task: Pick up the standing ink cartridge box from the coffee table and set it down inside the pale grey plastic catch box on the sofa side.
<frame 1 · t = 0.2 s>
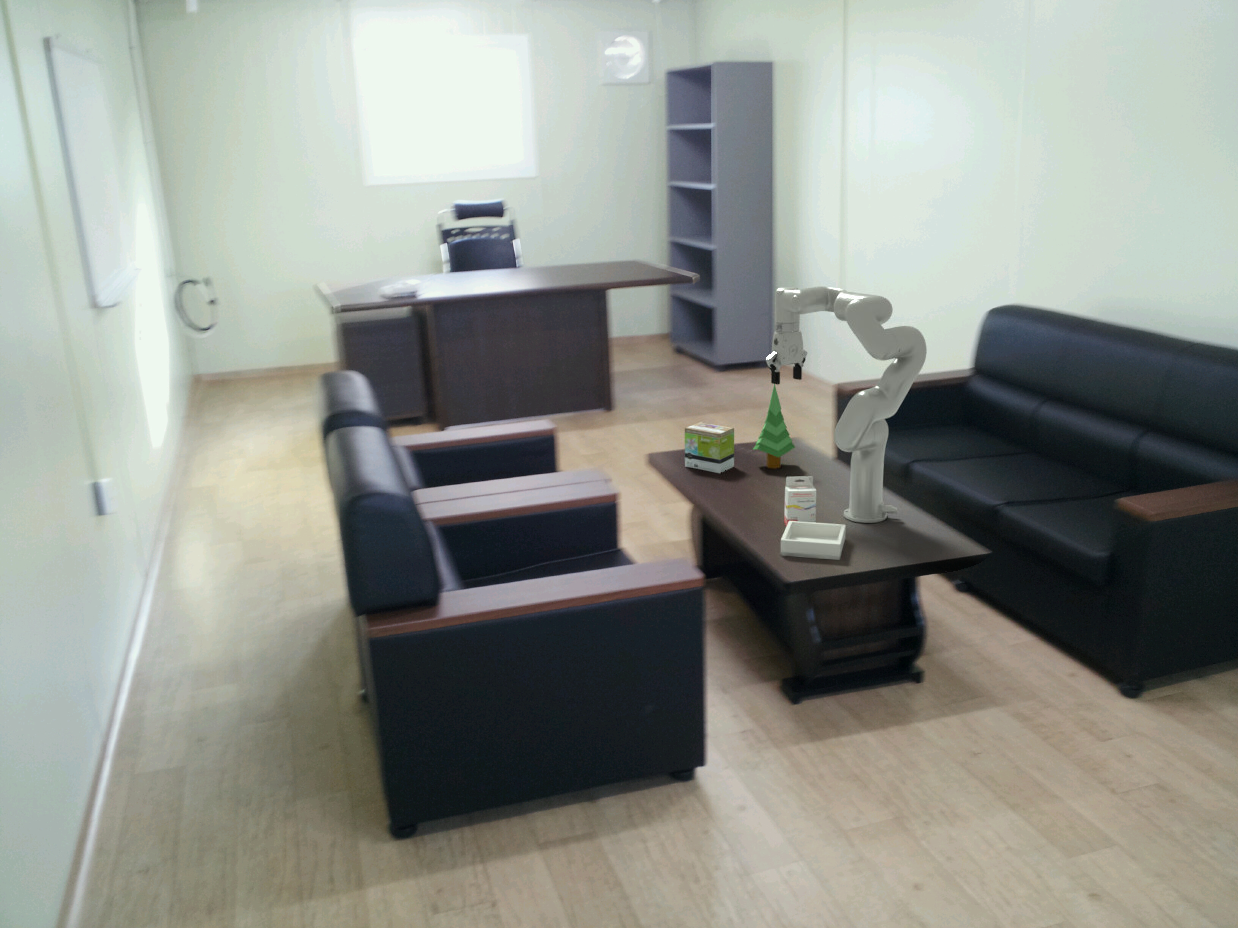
hand: (786, 381, 327), 37 cm above the table, tool pointing down, fingers open, 9 cm apart
tea box: (709, 467, 368), on the table
ink cartridge box: (799, 526, 307), on the table
decorative tree: (773, 467, 366), on the table
catch box: (813, 547, 290), on the table
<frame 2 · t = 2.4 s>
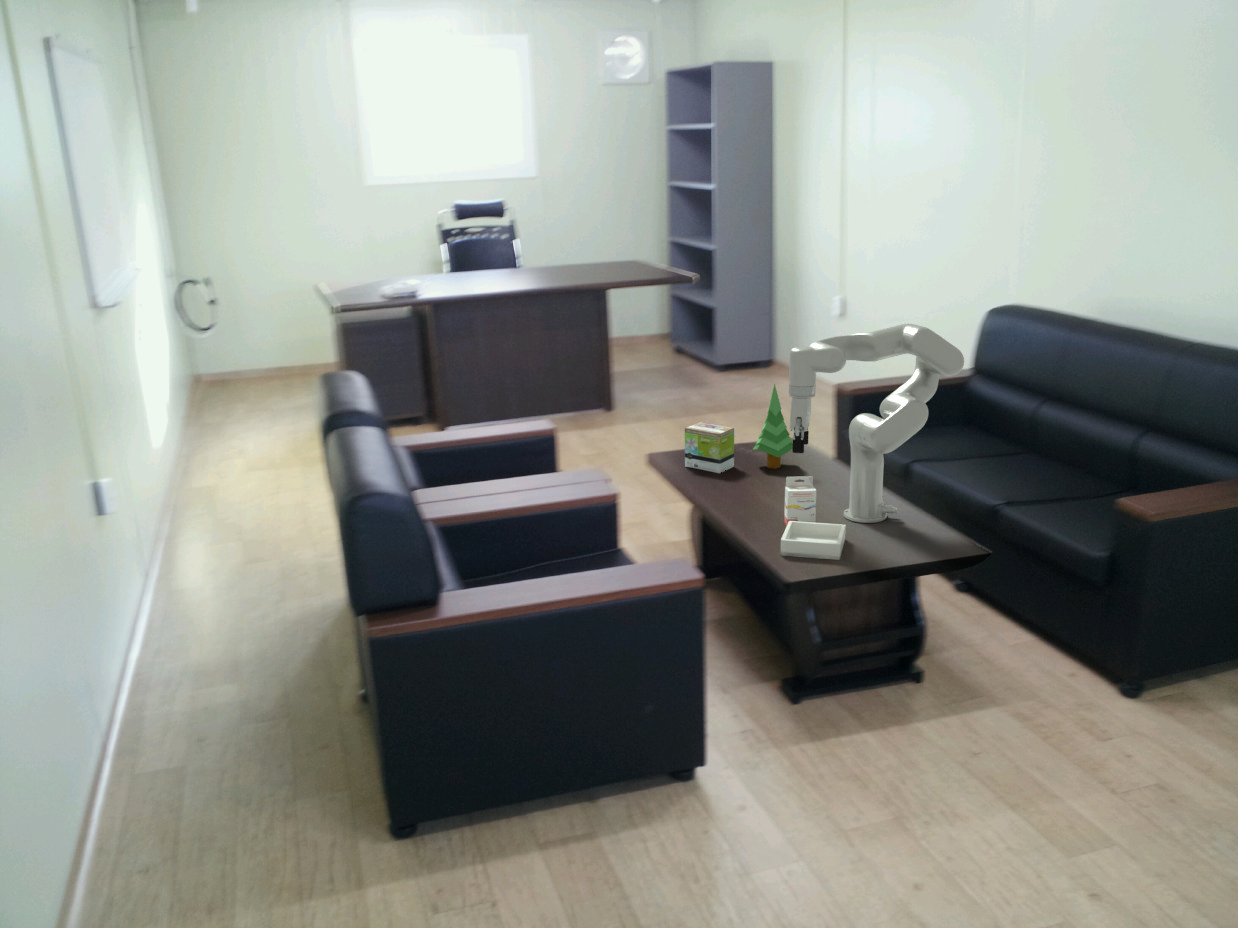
hand: (800, 448, 300), 24 cm above the table, tool pointing down, fingers open, 9 cm apart
nothing on the table moved.
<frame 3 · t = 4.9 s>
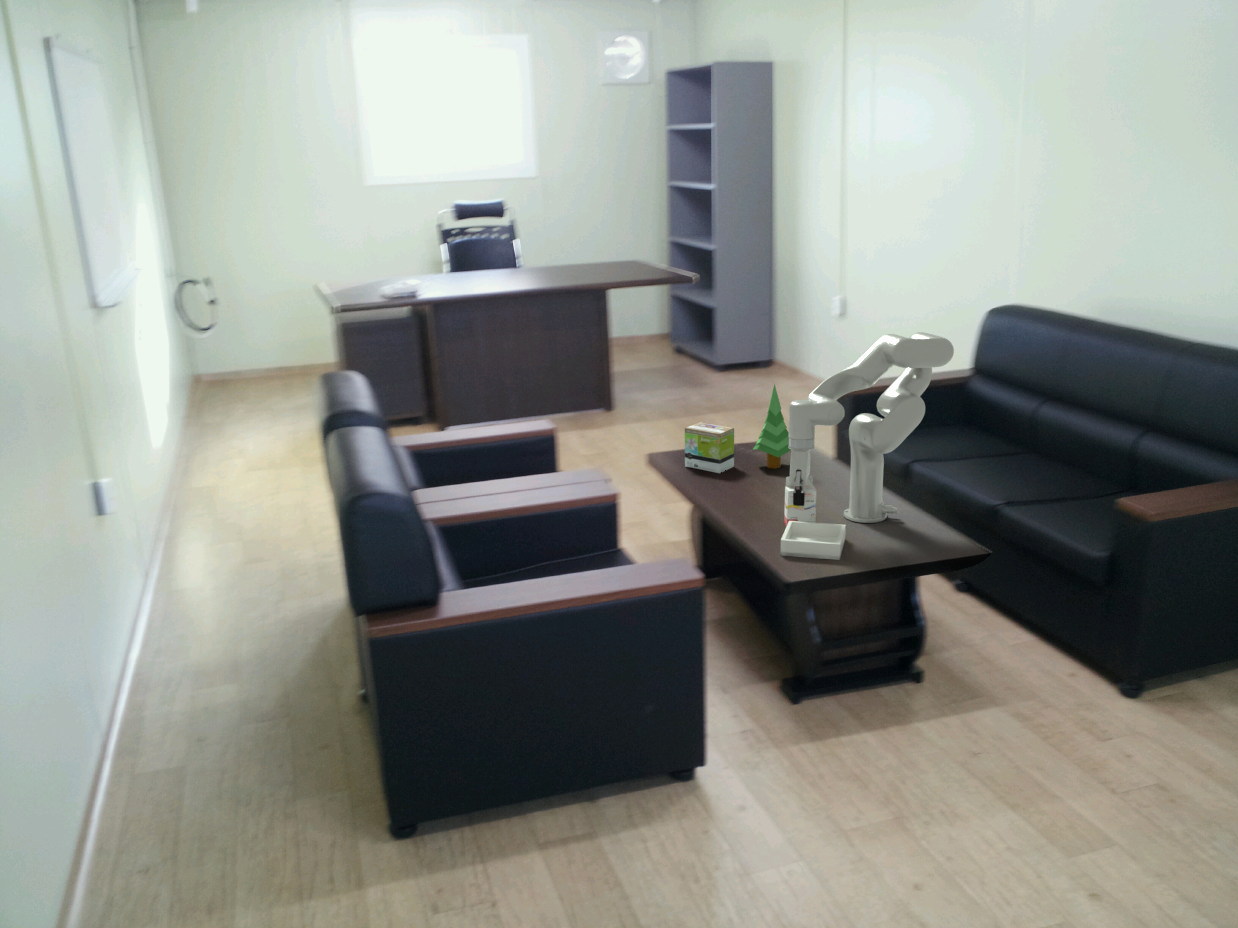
hand: (800, 501, 305), 8 cm above the table, tool pointing down, fingers closed on ink cartridge box, 6 cm apart
ink cartridge box: (799, 526, 307), on the table, touching gripper
everything else where it was.
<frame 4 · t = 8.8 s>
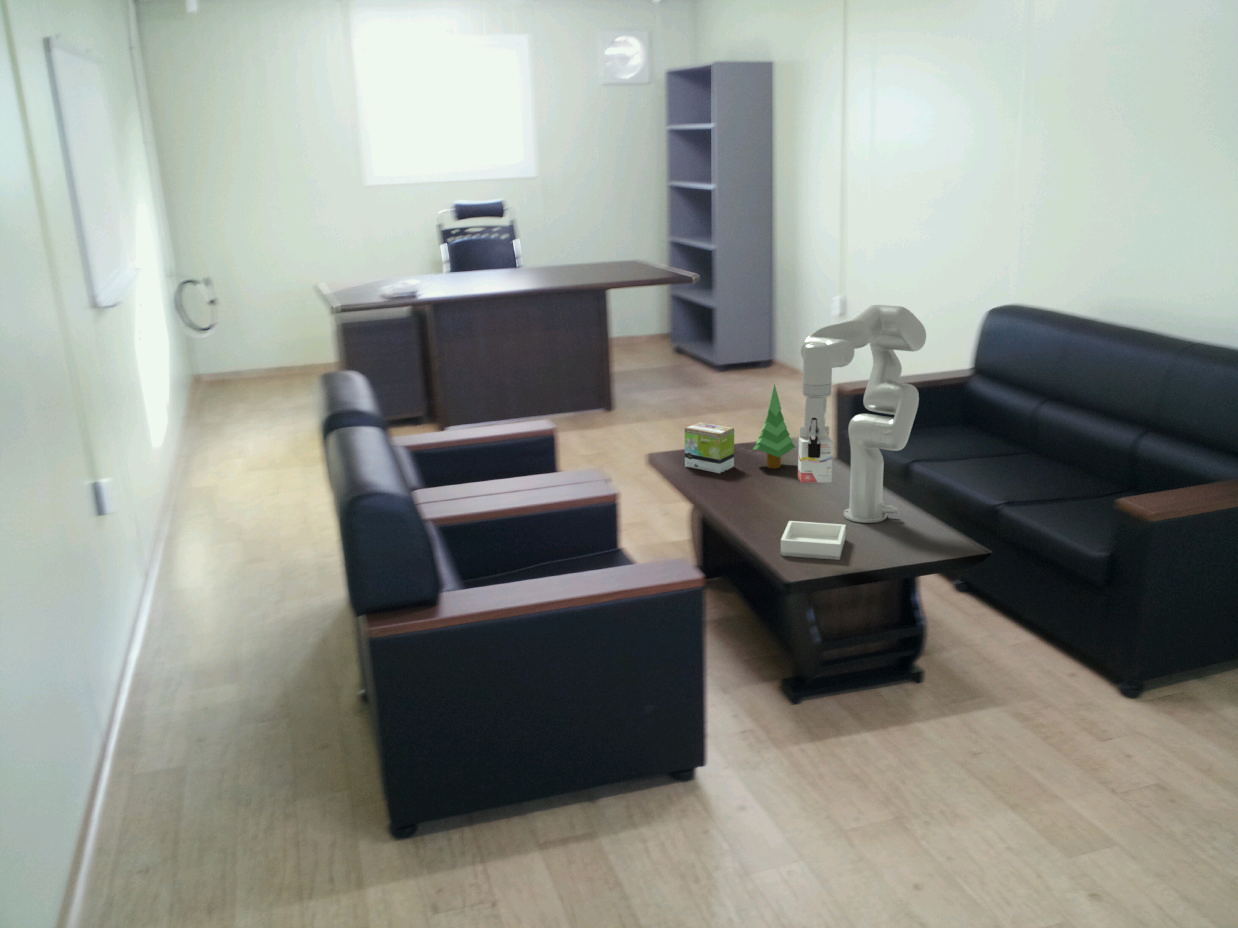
hand: (815, 453, 282), 27 cm above the table, tool pointing down, fingers closed on ink cartridge box, 6 cm apart
ink cartridge box: (814, 480, 285), point 19 cm above the table, touching gripper
everything else where it was.
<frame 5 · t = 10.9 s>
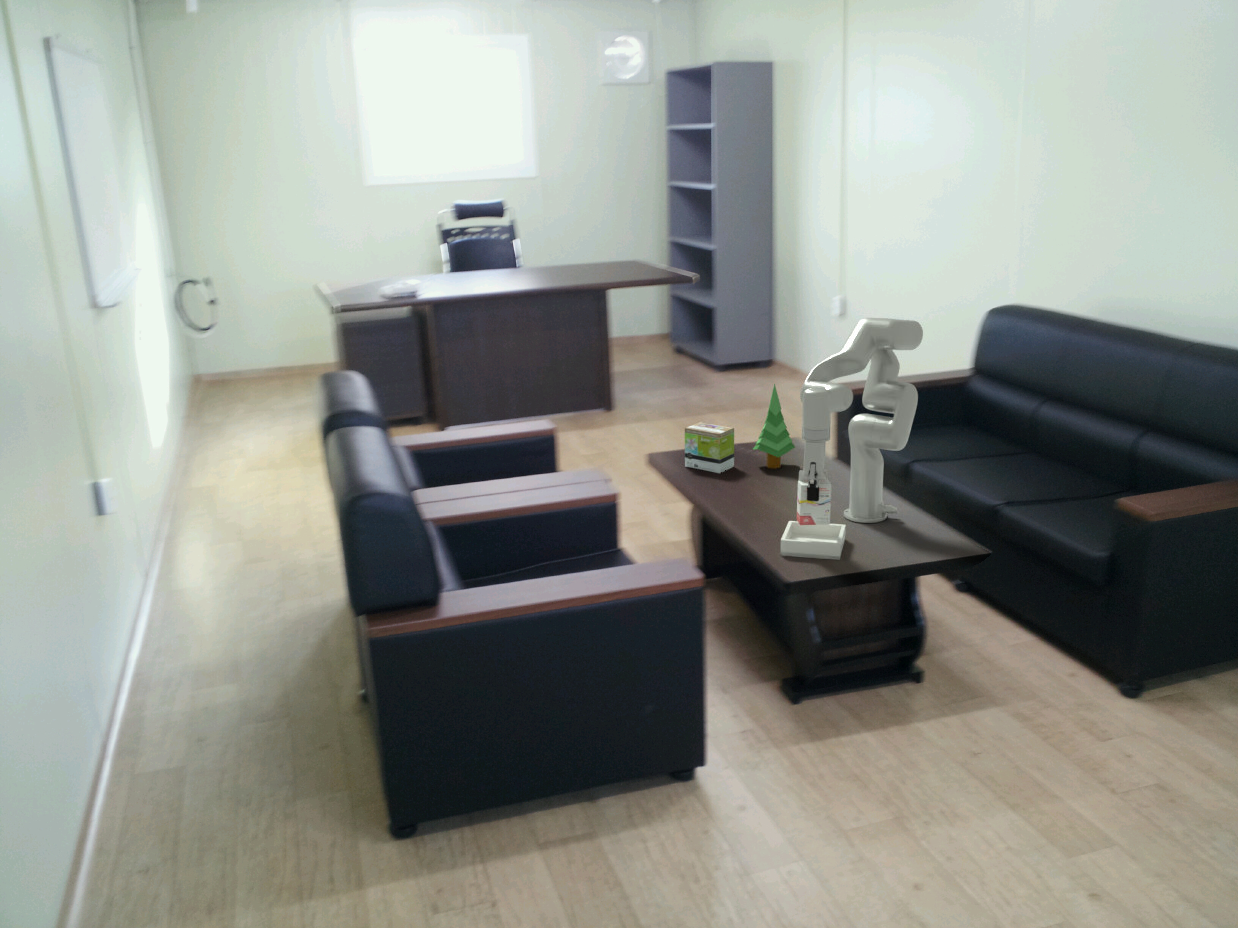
hand: (814, 496, 286), 15 cm above the table, tool pointing down, fingers closed on ink cartridge box, 6 cm apart
ink cartridge box: (813, 523, 288), point 7 cm above the table, touching gripper
everything else where it was.
when the fingers open (10 cm above the table, at t = 12.9 s): ink cartridge box drops 1 cm, resting on catch box.
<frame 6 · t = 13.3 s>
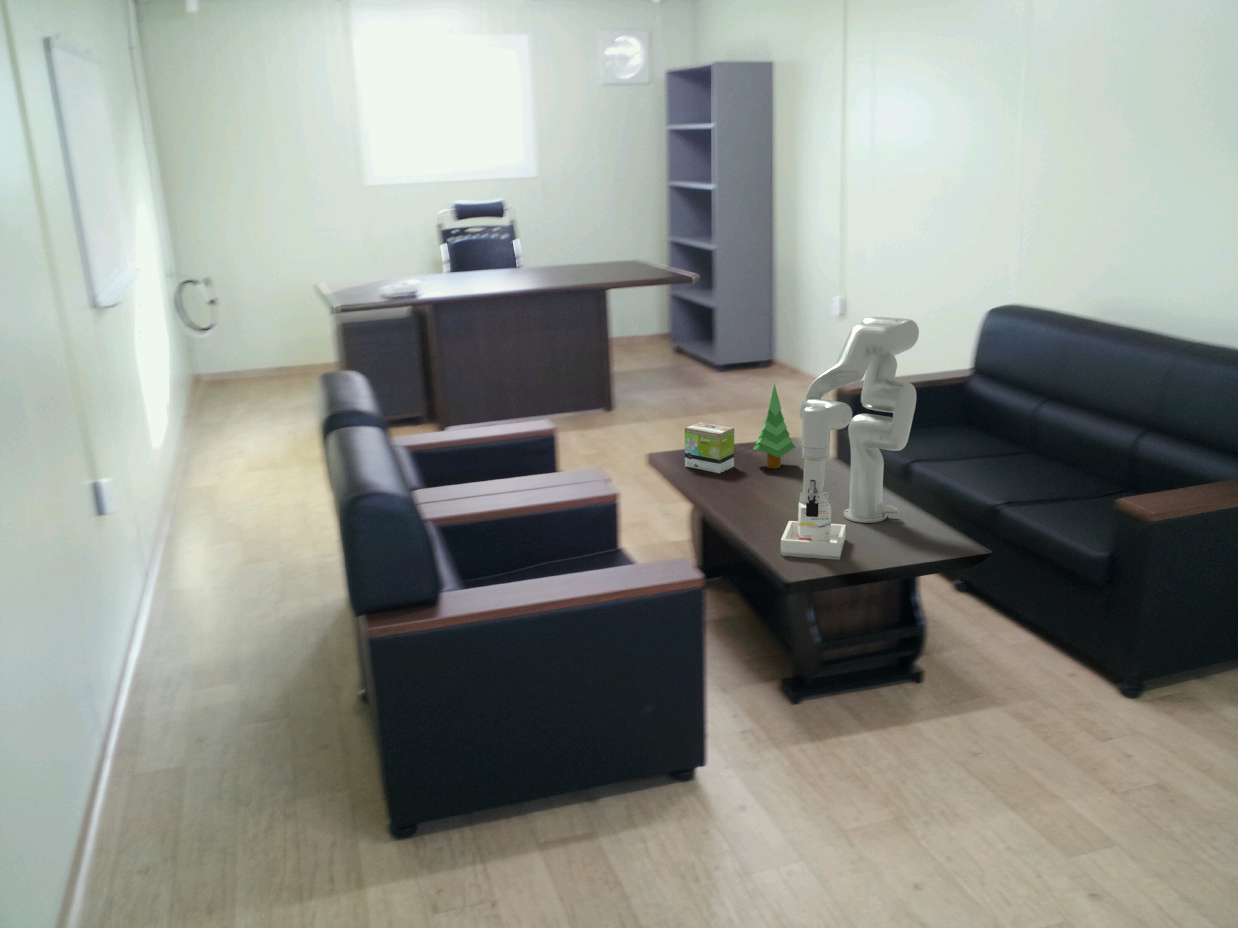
hand: (814, 510, 287), 11 cm above the table, tool pointing down, fingers open, 9 cm apart
ink cartridge box: (813, 544, 289), point 1 cm above the table, touching catch box
everything else where it was.
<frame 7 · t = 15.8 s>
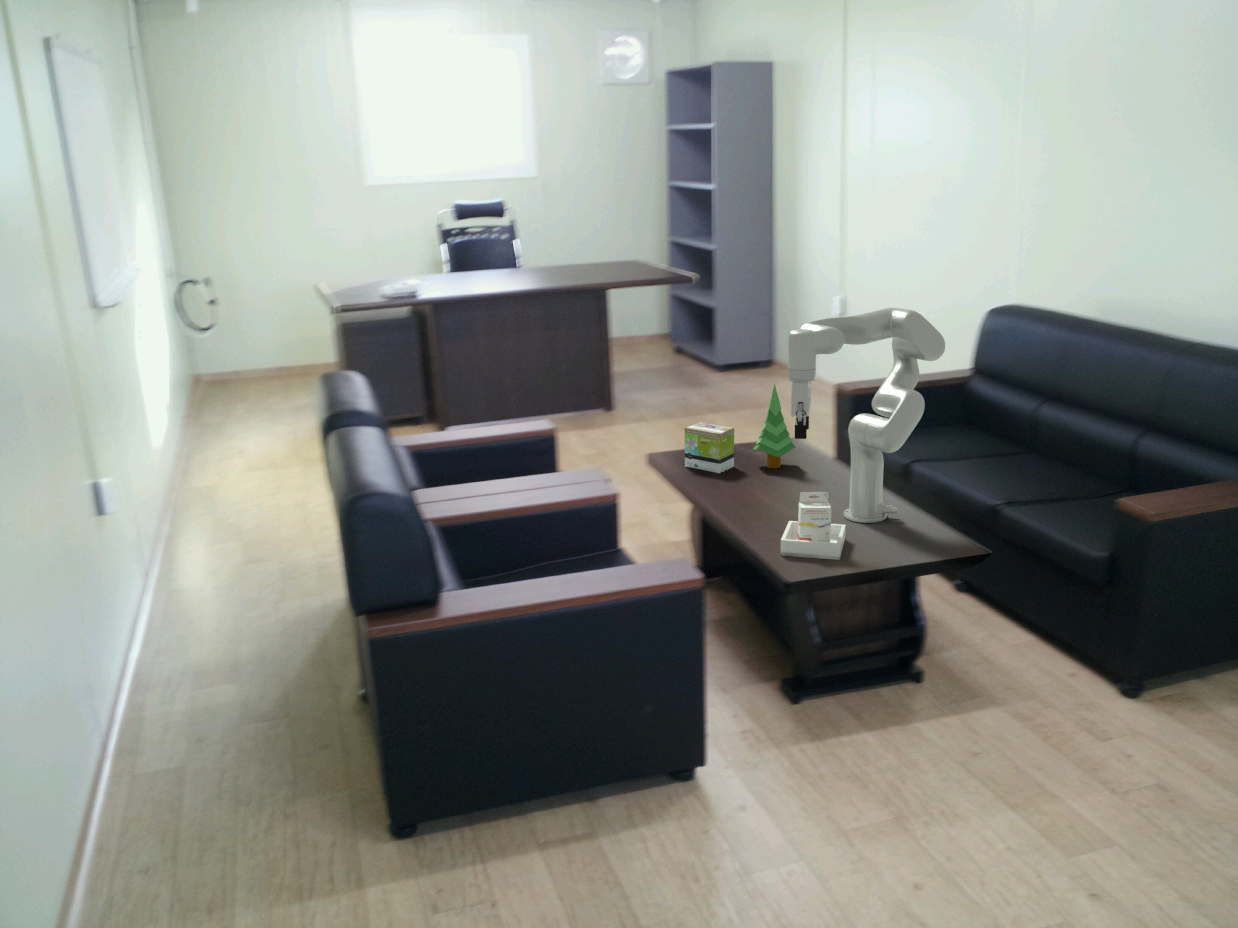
hand: (801, 433, 292), 30 cm above the table, tool pointing down, fingers open, 9 cm apart
nothing on the table moved.
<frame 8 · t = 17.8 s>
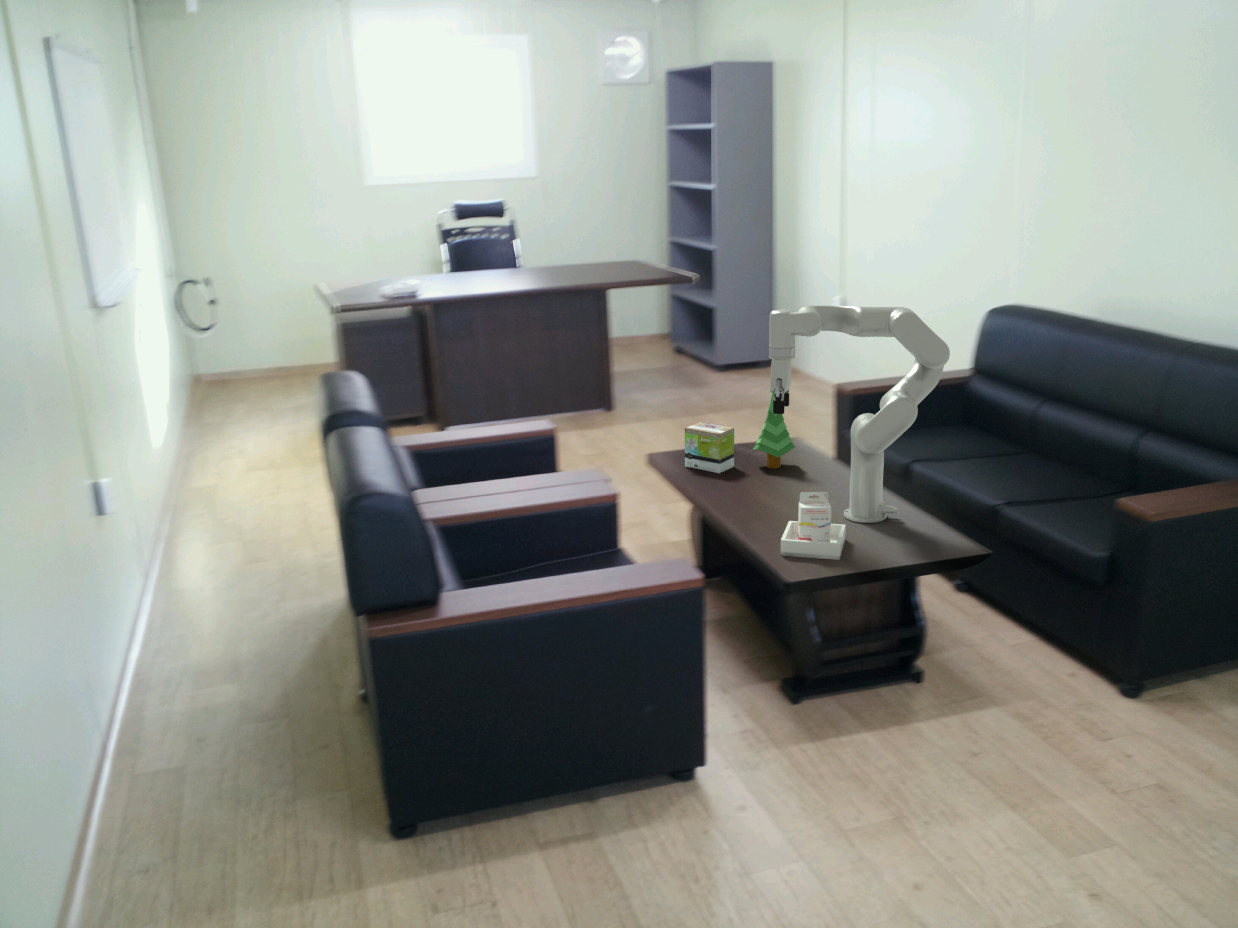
hand: (781, 409, 306), 33 cm above the table, tool pointing down, fingers open, 9 cm apart
nothing on the table moved.
at the end: ink cartridge box inside the target area on the catch box (0.2 cm from its centre), point 0.8 cm above the catch box's base; ink cartridge box tilted 0°; the gripper is holding nothing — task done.
